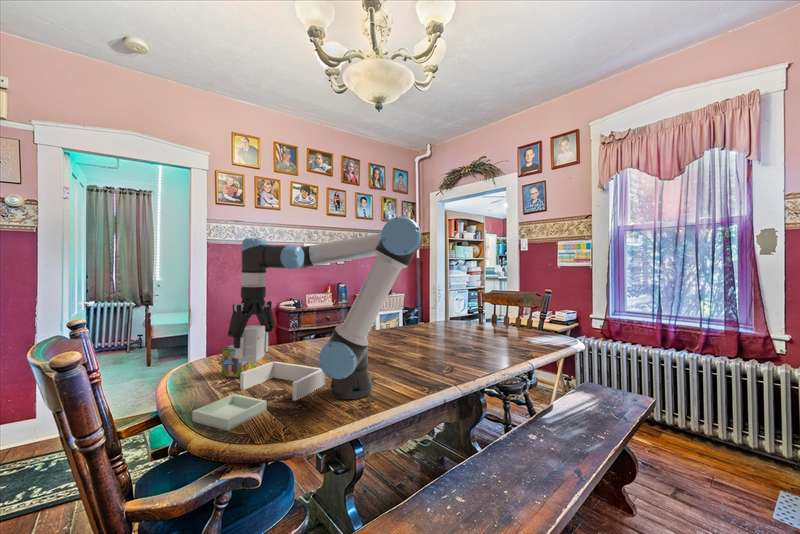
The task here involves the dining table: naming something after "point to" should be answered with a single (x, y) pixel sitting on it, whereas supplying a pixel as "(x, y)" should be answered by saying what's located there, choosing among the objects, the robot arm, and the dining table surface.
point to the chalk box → (233, 363)
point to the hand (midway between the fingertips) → (252, 354)
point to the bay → (285, 377)
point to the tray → (229, 411)
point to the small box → (253, 343)
